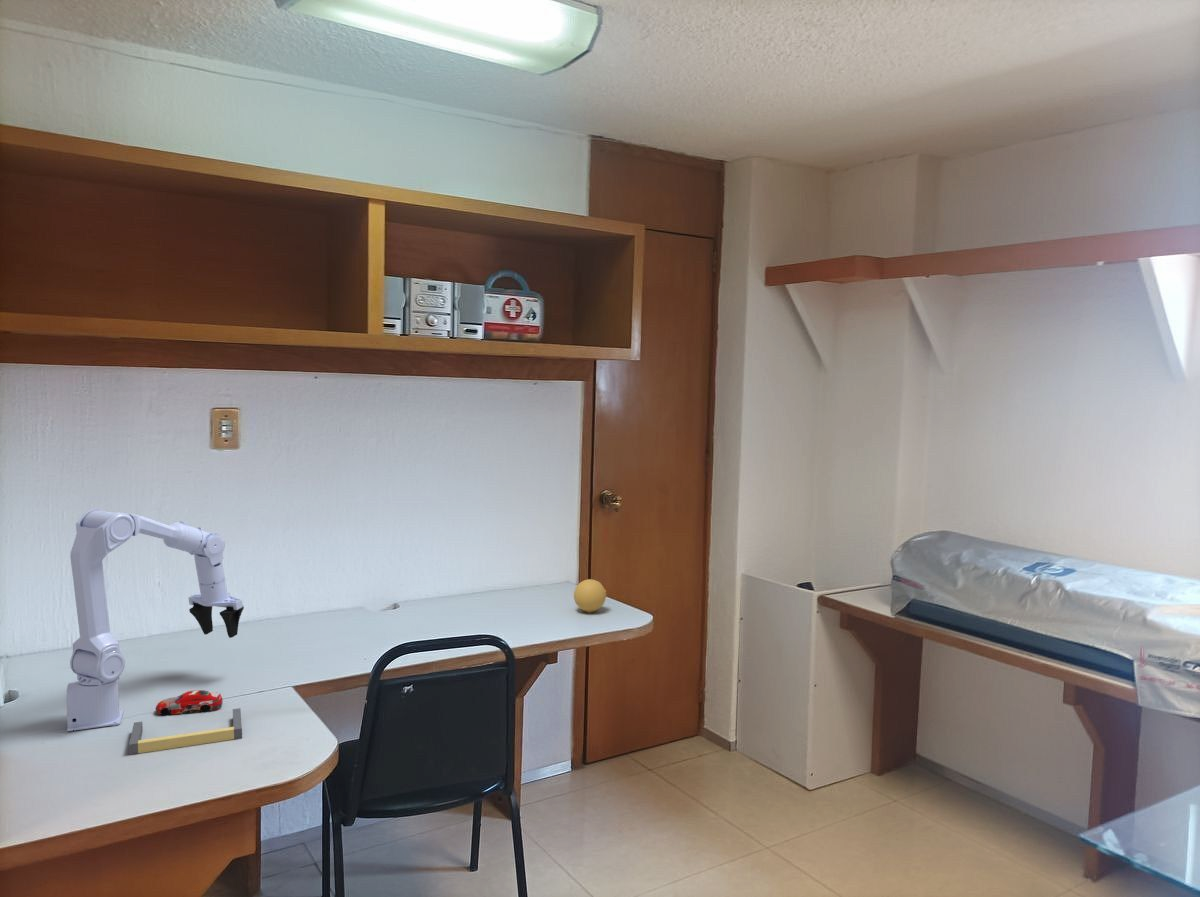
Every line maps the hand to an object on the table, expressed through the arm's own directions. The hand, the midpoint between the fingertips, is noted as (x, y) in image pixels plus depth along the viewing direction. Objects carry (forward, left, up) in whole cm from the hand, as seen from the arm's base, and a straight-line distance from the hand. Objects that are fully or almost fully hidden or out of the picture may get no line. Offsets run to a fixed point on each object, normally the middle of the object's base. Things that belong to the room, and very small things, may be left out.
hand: (220, 634), depth 210 cm
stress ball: (+104, +20, -11) cm, 107 cm away
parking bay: (-7, -34, -10) cm, 37 cm away
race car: (-7, -19, -11) cm, 23 cm away
